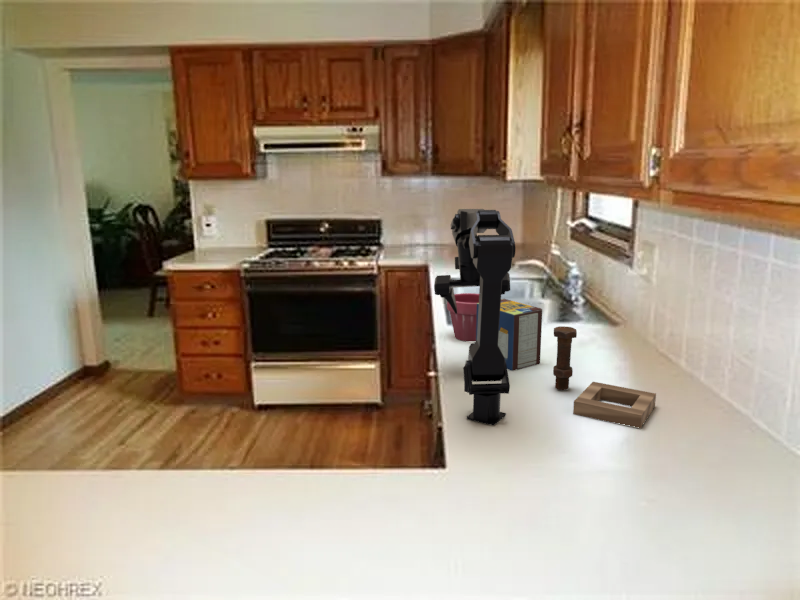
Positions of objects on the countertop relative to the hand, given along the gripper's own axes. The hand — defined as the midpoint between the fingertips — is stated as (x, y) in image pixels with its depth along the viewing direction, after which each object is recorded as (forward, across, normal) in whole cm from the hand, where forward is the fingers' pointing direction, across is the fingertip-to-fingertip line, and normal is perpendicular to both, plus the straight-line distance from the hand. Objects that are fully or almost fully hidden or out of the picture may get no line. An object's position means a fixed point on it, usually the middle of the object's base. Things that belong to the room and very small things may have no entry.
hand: (474, 312), depth 156 cm
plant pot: (+24, +3, -24) cm, 34 cm away
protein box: (+19, -8, -4) cm, 21 cm away
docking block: (+11, -30, +26) cm, 42 cm away
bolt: (+14, -20, +16) cm, 29 cm away
